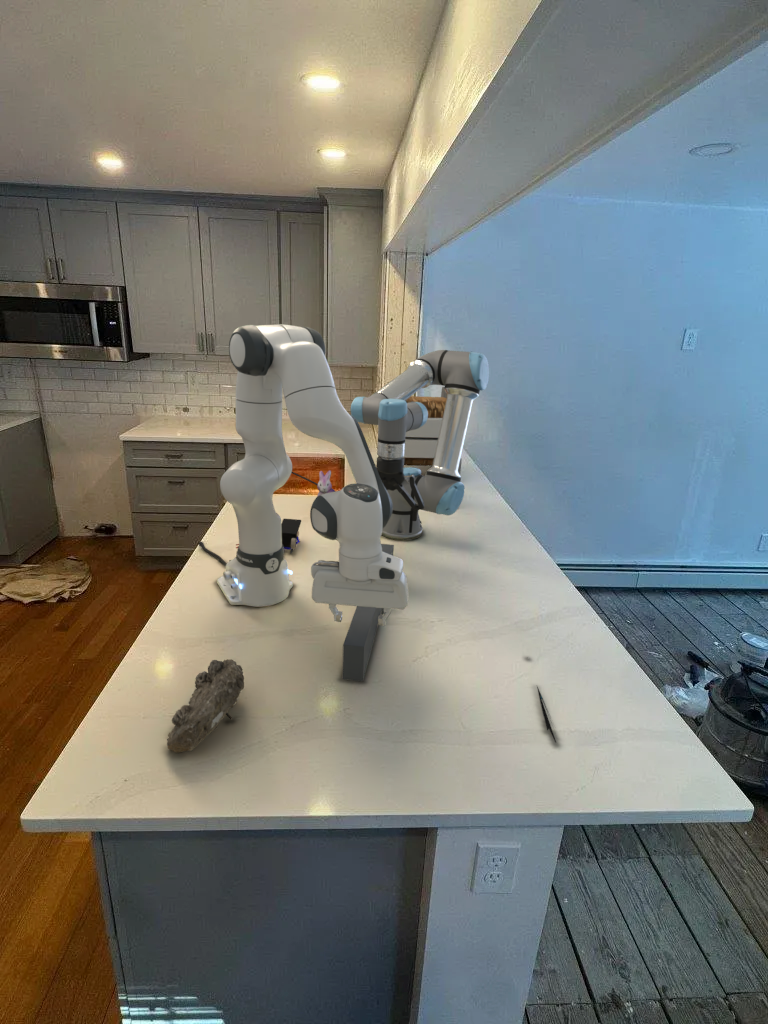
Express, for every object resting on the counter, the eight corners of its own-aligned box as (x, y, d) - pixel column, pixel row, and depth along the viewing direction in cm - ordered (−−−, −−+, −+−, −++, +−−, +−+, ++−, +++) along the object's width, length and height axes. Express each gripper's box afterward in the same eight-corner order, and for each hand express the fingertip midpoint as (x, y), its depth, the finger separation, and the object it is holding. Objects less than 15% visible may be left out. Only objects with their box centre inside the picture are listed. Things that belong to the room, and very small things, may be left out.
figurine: (320, 513, 215) (320, 475, 210) (311, 505, 224) (311, 468, 219) (343, 510, 219) (344, 473, 214) (333, 502, 228) (333, 466, 223)
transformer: (382, 463, 289) (386, 382, 275) (445, 464, 293) (451, 384, 279) (390, 482, 257) (394, 392, 243) (460, 483, 261) (468, 394, 247)
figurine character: (297, 560, 179) (302, 537, 192) (296, 539, 175) (302, 517, 189) (275, 559, 178) (282, 536, 192) (274, 538, 175) (281, 516, 189)
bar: (377, 569, 172) (379, 543, 169) (392, 571, 172) (393, 544, 169) (342, 679, 121) (343, 644, 118) (362, 681, 120) (364, 646, 117)
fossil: (192, 660, 117) (244, 628, 112) (224, 691, 120) (276, 661, 115) (142, 746, 98) (202, 712, 93) (182, 779, 101) (242, 748, 96)
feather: (528, 662, 131) (533, 656, 131) (556, 747, 105) (562, 740, 104) (522, 659, 131) (527, 652, 130) (548, 742, 104) (555, 735, 104)
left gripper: (307, 566, 115) (308, 625, 119) (407, 573, 112) (405, 634, 117) (314, 553, 120) (315, 611, 125) (410, 560, 118) (408, 618, 123)
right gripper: (343, 456, 153) (341, 530, 160) (435, 463, 150) (430, 537, 157) (348, 450, 160) (346, 521, 167) (436, 456, 157) (431, 528, 164)
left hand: (360, 622), depth 121 cm, fingers open, 8 cm apart
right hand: (386, 529), depth 162 cm, fingers open, 13 cm apart
